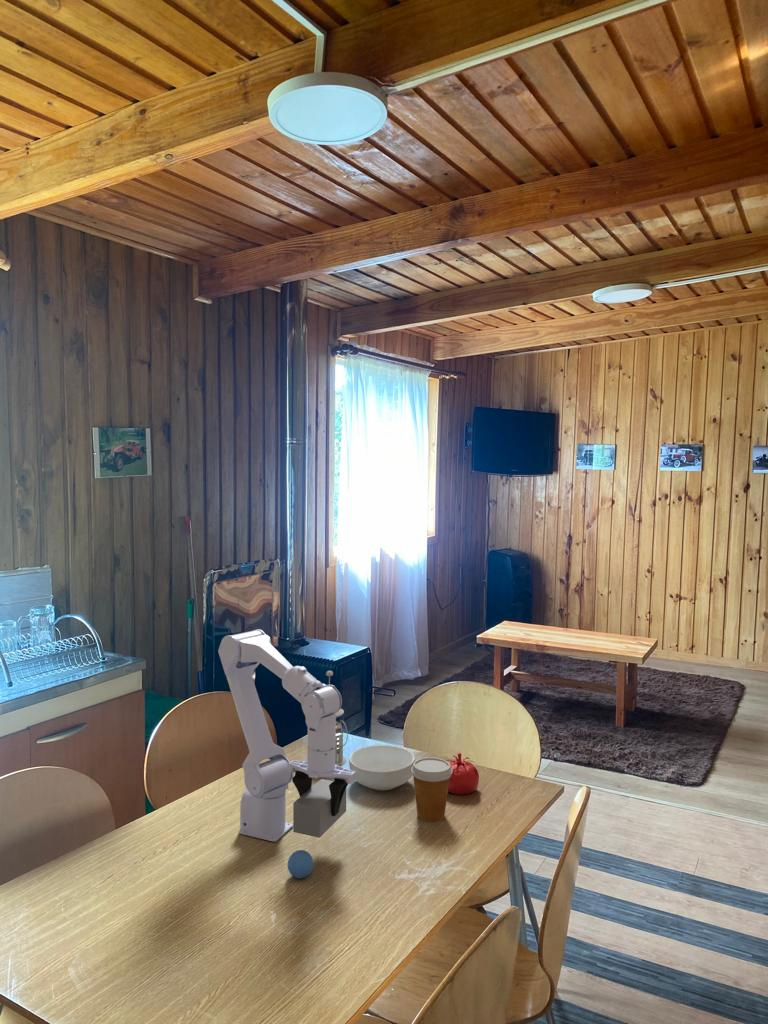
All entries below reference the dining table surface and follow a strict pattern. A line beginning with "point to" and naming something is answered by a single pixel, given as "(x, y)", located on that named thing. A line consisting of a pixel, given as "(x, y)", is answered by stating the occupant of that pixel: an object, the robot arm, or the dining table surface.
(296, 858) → the ball
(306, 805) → the grey rectangular block
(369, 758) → the cereal bowl
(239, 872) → the dining table surface
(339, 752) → the french press
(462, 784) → the pomegranate
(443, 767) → the disposable coffee cup
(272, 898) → the dining table surface
